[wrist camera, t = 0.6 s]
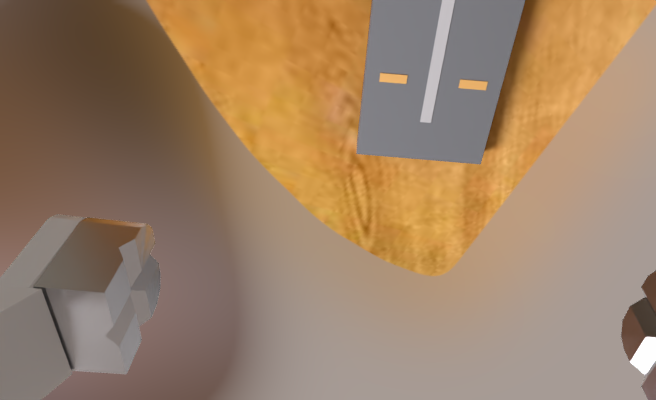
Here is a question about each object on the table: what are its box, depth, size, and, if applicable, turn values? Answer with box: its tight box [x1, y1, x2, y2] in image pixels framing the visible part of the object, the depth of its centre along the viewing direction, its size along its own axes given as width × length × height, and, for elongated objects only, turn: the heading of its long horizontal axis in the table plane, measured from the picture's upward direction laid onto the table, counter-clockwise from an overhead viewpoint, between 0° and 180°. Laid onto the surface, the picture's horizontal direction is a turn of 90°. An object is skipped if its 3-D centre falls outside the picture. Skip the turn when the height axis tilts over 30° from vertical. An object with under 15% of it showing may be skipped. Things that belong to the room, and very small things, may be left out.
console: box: [357, 0, 525, 164], centre depth 44 cm, size 26×12×2 cm, turn 176°
